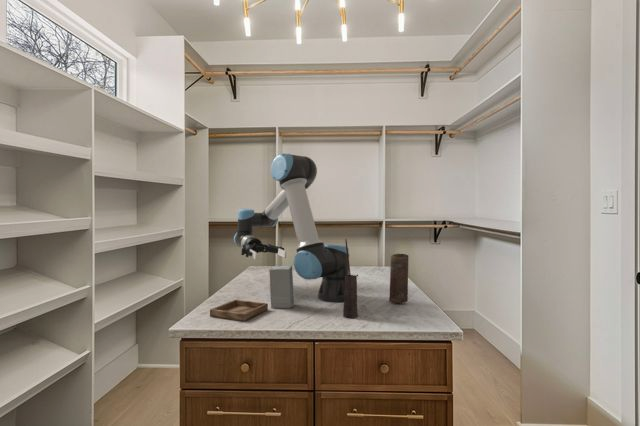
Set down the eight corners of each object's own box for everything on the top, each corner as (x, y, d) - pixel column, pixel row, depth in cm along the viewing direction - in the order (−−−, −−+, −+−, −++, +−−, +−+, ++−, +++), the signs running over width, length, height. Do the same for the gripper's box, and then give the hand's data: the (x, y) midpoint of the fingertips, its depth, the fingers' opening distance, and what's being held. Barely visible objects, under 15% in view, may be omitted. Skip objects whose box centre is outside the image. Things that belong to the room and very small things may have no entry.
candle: (411, 303, 144) (411, 254, 143) (402, 306, 138) (402, 256, 138) (395, 299, 149) (395, 252, 149) (385, 303, 144) (386, 254, 143)
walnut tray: (267, 310, 134) (267, 303, 134) (244, 321, 120) (244, 314, 120) (235, 305, 140) (235, 299, 139) (209, 316, 126) (209, 309, 126)
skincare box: (293, 304, 142) (293, 265, 142) (290, 309, 135) (290, 268, 134) (273, 303, 143) (273, 265, 142) (269, 308, 136) (269, 268, 135)
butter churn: (369, 314, 129) (369, 238, 128) (361, 321, 120) (361, 240, 119) (345, 311, 132) (346, 237, 132) (336, 318, 124) (336, 239, 123)
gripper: (274, 251, 172) (296, 262, 154) (225, 253, 158) (242, 265, 141) (276, 236, 171) (297, 246, 154) (226, 237, 157) (243, 247, 140)
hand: (271, 255), depth 147 cm, fingers open, 13 cm apart
